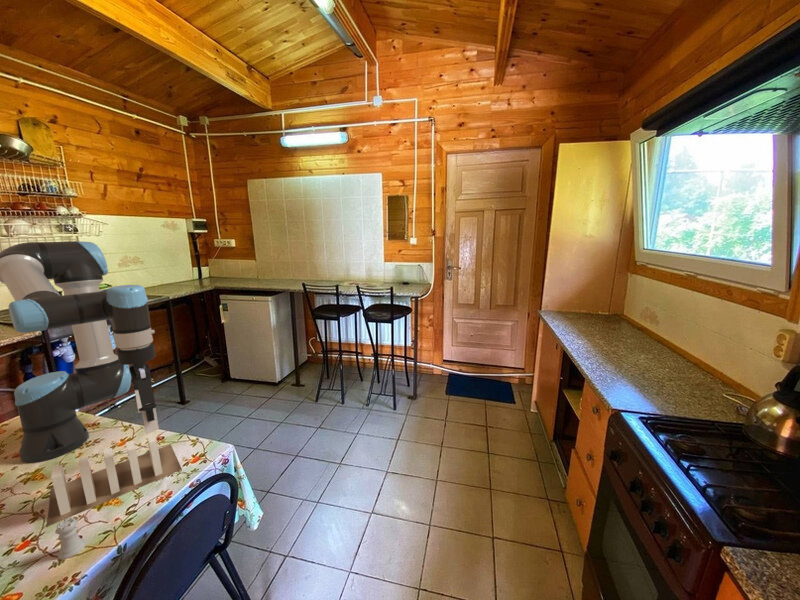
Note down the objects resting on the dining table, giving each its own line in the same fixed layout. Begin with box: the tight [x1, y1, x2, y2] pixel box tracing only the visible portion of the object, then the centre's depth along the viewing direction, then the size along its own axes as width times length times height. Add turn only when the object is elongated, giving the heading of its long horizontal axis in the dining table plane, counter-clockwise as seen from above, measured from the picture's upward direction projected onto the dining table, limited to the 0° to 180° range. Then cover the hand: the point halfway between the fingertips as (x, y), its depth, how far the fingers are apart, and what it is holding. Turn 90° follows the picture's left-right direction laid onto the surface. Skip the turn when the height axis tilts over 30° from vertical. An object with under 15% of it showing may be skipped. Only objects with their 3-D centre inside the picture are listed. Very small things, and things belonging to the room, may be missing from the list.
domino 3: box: [102, 447, 120, 494], centre depth 84 cm, size 2×5×10 cm, turn 44°
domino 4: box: [125, 439, 142, 485], centre depth 87 cm, size 2×5×10 cm, turn 44°
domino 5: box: [146, 432, 162, 476], centre depth 90 cm, size 2×5×10 cm, turn 44°
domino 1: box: [51, 463, 71, 515], centre depth 78 cm, size 2×5×10 cm, turn 44°
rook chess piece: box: [54, 517, 87, 560], centre depth 67 cm, size 4×4×8 cm
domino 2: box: [78, 455, 96, 505], centre depth 81 cm, size 2×5×10 cm, turn 44°
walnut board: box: [46, 443, 183, 528], centre depth 88 cm, size 26×16×2 cm, turn 134°
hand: (148, 420), depth 88 cm, fingers open, 13 cm apart
